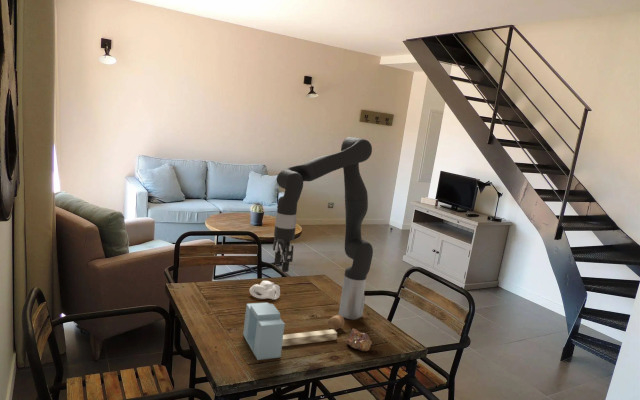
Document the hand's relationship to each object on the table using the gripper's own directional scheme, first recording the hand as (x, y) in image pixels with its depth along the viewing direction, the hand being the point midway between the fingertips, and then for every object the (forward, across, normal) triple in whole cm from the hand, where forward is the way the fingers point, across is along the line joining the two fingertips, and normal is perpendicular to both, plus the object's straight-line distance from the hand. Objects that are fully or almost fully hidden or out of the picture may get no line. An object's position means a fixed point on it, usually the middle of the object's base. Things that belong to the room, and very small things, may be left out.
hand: (281, 267), depth 165 cm
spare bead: (+25, -4, -24) cm, 34 cm away
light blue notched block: (+24, -12, +9) cm, 28 cm away
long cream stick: (+25, -12, -9) cm, 29 cm away
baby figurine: (+25, +28, -5) cm, 38 cm away
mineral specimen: (+25, -18, -26) cm, 40 cm away
